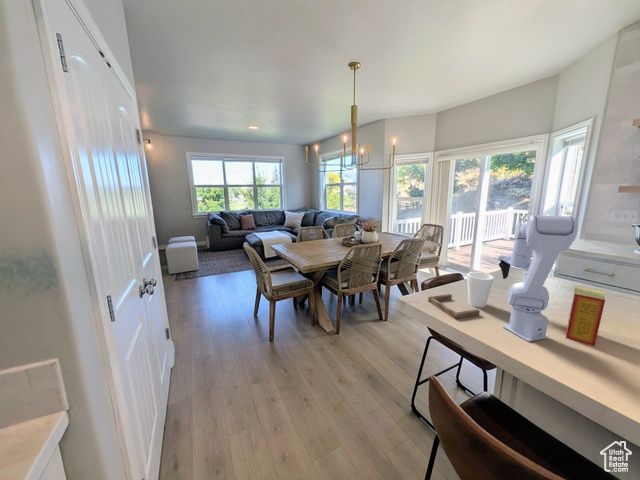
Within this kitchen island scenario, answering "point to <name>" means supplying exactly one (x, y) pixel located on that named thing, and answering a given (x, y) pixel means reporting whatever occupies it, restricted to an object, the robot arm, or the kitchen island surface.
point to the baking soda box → (585, 315)
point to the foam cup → (479, 288)
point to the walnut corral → (455, 315)
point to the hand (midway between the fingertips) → (515, 282)
